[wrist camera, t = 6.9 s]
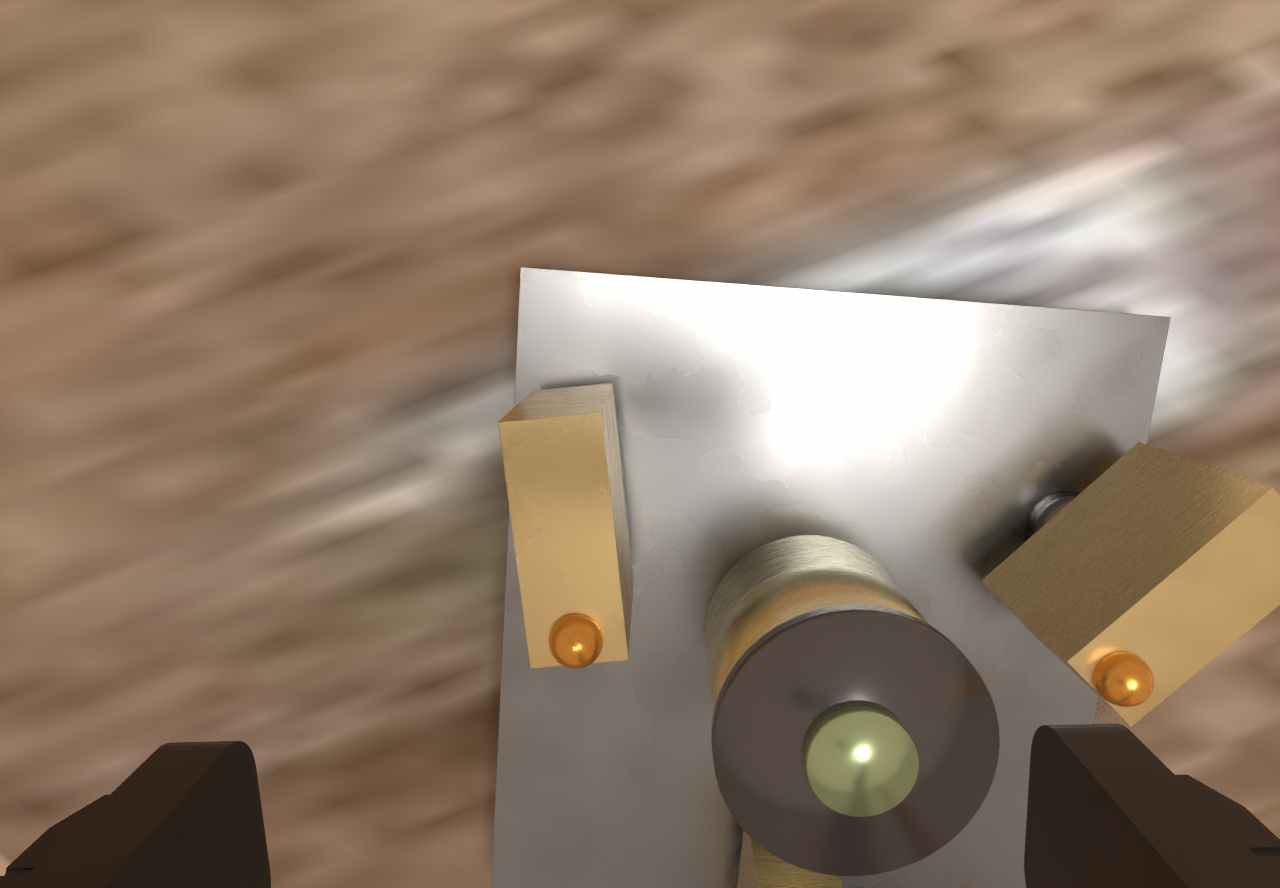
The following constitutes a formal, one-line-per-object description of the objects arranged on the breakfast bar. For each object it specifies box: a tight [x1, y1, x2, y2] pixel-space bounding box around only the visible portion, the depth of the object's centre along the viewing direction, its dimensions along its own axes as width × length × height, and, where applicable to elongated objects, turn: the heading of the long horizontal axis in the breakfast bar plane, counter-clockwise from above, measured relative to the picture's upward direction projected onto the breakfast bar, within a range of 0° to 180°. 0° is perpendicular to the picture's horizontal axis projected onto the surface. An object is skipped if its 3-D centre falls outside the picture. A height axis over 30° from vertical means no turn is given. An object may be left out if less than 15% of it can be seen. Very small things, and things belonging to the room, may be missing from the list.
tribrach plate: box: [491, 268, 1171, 888], centre depth 23 cm, size 20×18×9 cm
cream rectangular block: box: [498, 383, 634, 669], centre depth 22 cm, size 2×6×7 cm, turn 5°
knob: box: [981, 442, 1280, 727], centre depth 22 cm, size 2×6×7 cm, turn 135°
